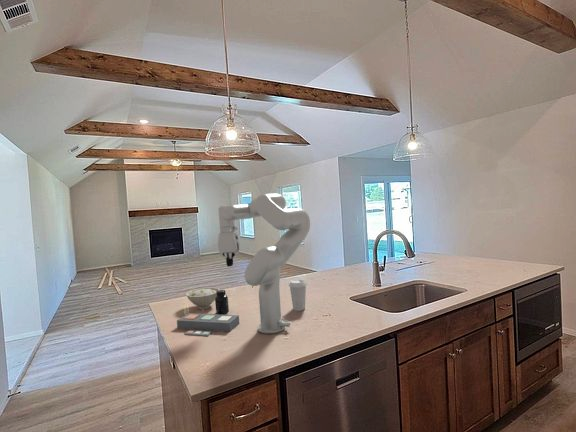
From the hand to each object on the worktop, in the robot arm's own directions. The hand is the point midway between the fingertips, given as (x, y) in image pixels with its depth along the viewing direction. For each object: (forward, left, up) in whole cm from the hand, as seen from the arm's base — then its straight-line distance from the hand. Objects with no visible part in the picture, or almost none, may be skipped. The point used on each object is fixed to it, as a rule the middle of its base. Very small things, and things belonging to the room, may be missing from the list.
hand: (230, 265), depth 162 cm
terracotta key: (+17, +11, -26) cm, 33 cm away
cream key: (-1, +11, -26) cm, 28 cm away
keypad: (+8, +11, -27) cm, 30 cm away
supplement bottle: (+10, -7, -27) cm, 30 cm away
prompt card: (+8, +20, -27) cm, 35 cm away
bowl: (+26, -15, -27) cm, 41 cm away
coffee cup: (-30, -18, -27) cm, 44 cm away
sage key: (+8, +11, -26) cm, 29 cm away
